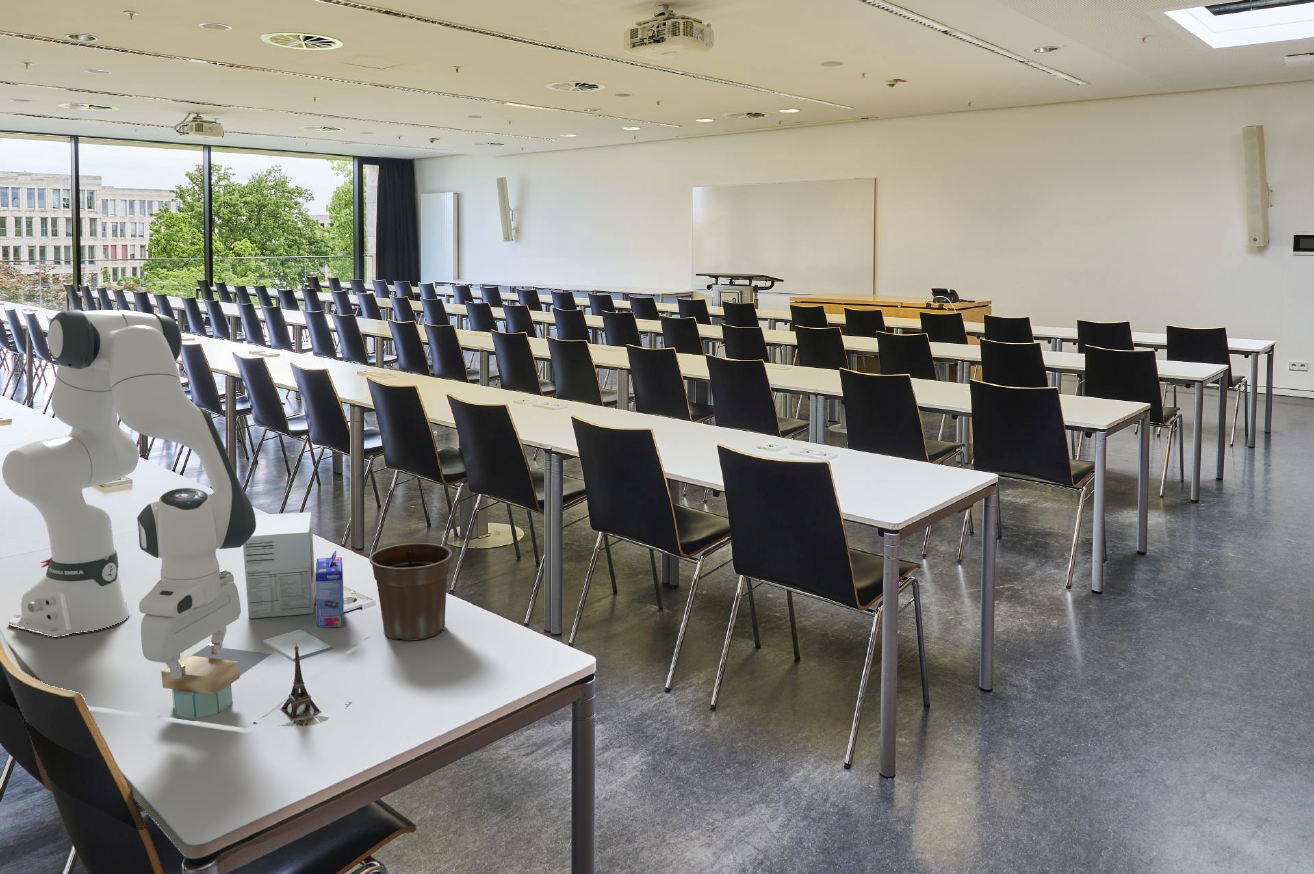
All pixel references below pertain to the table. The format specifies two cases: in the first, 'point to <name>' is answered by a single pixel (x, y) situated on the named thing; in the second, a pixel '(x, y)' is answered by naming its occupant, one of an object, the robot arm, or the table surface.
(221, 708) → the bowl
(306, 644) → the hard drive
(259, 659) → the mat
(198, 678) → the lid
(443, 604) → the plant pot
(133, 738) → the table surface
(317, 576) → the ink cartridge box
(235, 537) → the robot arm
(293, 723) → the eiffel tower figurine
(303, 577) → the supplement box
